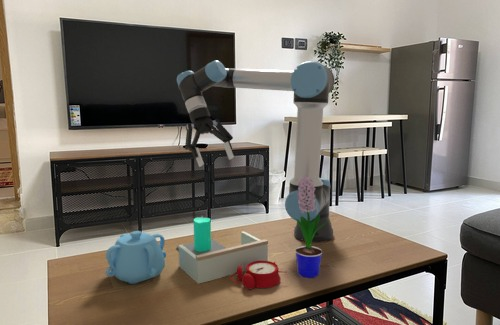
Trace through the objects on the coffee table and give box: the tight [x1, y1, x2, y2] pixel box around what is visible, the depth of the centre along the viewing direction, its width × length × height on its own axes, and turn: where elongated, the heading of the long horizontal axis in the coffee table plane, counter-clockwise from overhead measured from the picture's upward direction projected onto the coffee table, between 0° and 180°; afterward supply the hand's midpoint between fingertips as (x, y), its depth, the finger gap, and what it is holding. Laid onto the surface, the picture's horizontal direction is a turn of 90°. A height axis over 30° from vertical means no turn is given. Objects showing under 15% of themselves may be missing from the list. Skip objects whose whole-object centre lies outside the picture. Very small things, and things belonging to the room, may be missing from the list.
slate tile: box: [176, 238, 227, 256], centre depth 133 cm, size 14×14×1 cm
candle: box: [193, 216, 212, 251], centre depth 132 cm, size 6×6×12 cm
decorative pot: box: [105, 230, 167, 285], centre depth 113 cm, size 16×16×14 cm
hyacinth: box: [294, 176, 328, 279], centre depth 112 cm, size 9×10×30 cm
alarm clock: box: [230, 260, 287, 290], centre depth 109 cm, size 11×6×15 cm
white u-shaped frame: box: [178, 231, 269, 285], centre depth 120 cm, size 24×14×8 cm, turn 123°
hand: (217, 162), depth 140 cm, fingers open, 13 cm apart
